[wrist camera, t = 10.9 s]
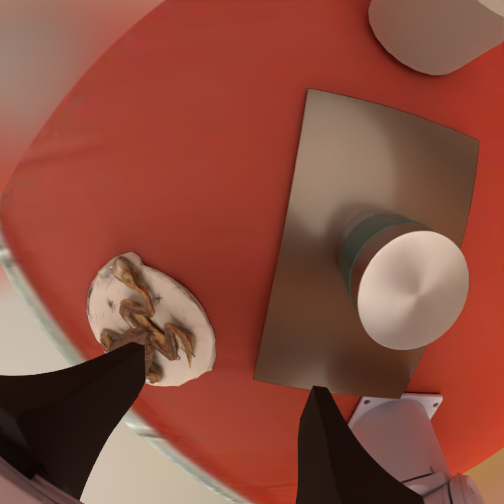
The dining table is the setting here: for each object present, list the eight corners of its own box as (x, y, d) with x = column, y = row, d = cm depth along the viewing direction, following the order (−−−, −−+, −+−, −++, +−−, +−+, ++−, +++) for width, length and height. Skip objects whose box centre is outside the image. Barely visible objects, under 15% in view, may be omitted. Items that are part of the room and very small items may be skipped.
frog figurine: (184, 408, 24) (169, 437, 21) (78, 336, 24) (54, 355, 21) (245, 321, 21) (235, 349, 17) (110, 233, 21) (79, 244, 17)
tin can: (402, 298, 18) (444, 355, 11) (326, 284, 18) (340, 343, 12) (424, 219, 16) (484, 244, 10) (345, 199, 17) (375, 214, 10)
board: (396, 390, 21) (400, 399, 20) (254, 370, 22) (252, 379, 21) (471, 141, 15) (479, 140, 14) (306, 92, 17) (307, 87, 16)
